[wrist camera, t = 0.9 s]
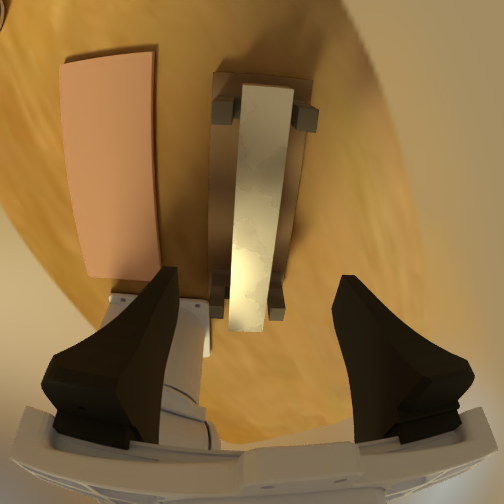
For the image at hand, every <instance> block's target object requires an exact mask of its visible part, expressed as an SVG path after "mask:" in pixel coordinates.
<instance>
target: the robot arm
mask: <svg viewBox="0 0 504 504" xmlns="http://www.w3.org/2000/svg"><path fill="white" fill-rule="evenodd" d="M122 298H124V299H125V300H124V299H122ZM109 302H110V305H109V307H108V309H107V312H106V314H105V316H104V319H103V321H102V324H101V326H100V329H99V330H98V331H97V332H96V333H94V334H93V335H91V336H90V337H88V338H86V339H85V340H83V341H81V342H80V343H78V344H76V345H74V346H72V347H70V348H68V349H66V350H64V351H62V352H60V353H58V354H55V355H54V356H53V358H52V359H51V361H50V363H49V365H48V368H47V370H46V373H45V375H44V377H43V380H42V382H41V387H42V390H43V391H44V393H45V395H46V396H47V397H48V399H49V400H50V401H51V402H52V404H53V405H54V406H55V408H56V409H57V413H56V416H55V417H54V416H53V415H51V414H49V413H47V412H44V411H41V410H38V409H35V408H32V407H29V406H26V407H25V410H24V412H23V415H22V418H21V420H20V423H19V426H18V429H17V432H16V435H15V438H14V441H13V444H12V448H11V451H10V454H9V457H10V459H11V460H13V461H14V462H15V463H17V464H19V465H20V466H21V467H23V468H24V469H26V470H27V471H28V472H30V473H31V474H33V475H35V476H36V477H38V478H39V479H42V480H44V481H47V482H49V483H52V484H54V485H57V486H60V487H63V488H65V489H68V490H71V491H74V492H77V493H80V494H83V495H85V496H89V497H92V498H95V499H96V500H97V501H98V502H99V503H100V504H387V503H386V502H387V501H390V500H393V499H397V498H400V497H403V496H406V495H409V494H412V493H414V492H417V491H420V490H423V489H425V488H428V487H431V486H433V485H435V484H438V483H440V482H443V481H445V480H448V479H450V478H453V477H455V476H457V475H460V474H462V473H464V472H466V471H468V470H470V469H471V468H473V467H474V466H476V465H477V464H479V463H480V462H482V461H483V460H485V459H486V458H488V457H489V456H490V455H492V454H493V453H495V452H496V451H497V450H498V447H497V444H496V441H495V439H494V436H493V434H492V431H491V428H490V426H489V423H488V421H487V418H486V416H485V414H484V411H483V409H482V407H477V408H474V409H471V410H468V411H465V412H463V413H461V414H460V415H459V414H458V411H457V409H459V407H460V405H459V402H458V399H459V398H460V397H461V396H462V395H463V394H464V393H465V392H466V391H467V390H468V389H469V387H470V386H471V385H472V383H473V381H474V378H475V375H474V373H473V371H472V369H471V367H470V365H469V363H468V361H467V360H466V359H464V358H461V357H459V356H457V355H454V354H452V353H450V352H448V351H446V350H444V349H442V348H440V347H439V346H437V345H435V344H433V343H432V342H430V341H429V340H427V339H426V338H424V337H422V336H421V335H419V334H418V333H417V332H415V331H414V330H413V329H411V328H410V327H409V326H407V325H406V324H405V323H404V322H402V321H401V320H400V319H399V318H398V317H397V316H396V315H394V314H393V313H392V312H391V311H390V310H389V309H388V308H387V307H386V306H385V305H384V304H383V303H382V302H381V301H380V300H379V299H378V298H377V297H376V296H375V295H374V294H373V293H372V292H371V291H370V290H369V289H368V288H367V287H366V286H365V285H364V284H363V283H362V282H361V281H360V280H359V279H358V278H357V277H356V276H355V275H342V277H341V280H340V283H339V287H338V290H337V293H336V296H335V299H334V302H333V305H332V308H331V309H332V315H333V322H334V327H335V331H336V335H337V338H338V341H339V345H340V348H341V351H342V355H343V358H344V361H345V365H346V368H347V373H348V377H349V384H350V390H351V398H352V407H353V418H354V435H355V436H354V439H355V444H354V443H351V442H333V443H324V444H314V445H299V446H279V447H278V446H277V447H263V448H256V449H253V450H249V451H227V450H225V451H224V450H221V442H220V437H219V434H218V432H217V430H216V427H215V425H214V424H213V423H212V422H210V421H207V420H205V415H206V408H204V407H201V406H199V394H200V383H201V372H202V361H203V357H209V356H210V318H209V302H208V301H207V300H202V299H185V298H179V288H178V275H177V267H165V266H163V267H162V268H161V269H160V270H159V271H158V273H157V274H156V275H155V276H154V278H153V279H152V280H151V281H150V282H149V284H148V285H147V286H146V287H145V288H144V289H143V290H142V292H141V293H140V294H139V295H132V294H120V293H111V294H110V295H109ZM196 304H199V305H196Z"/></svg>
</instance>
